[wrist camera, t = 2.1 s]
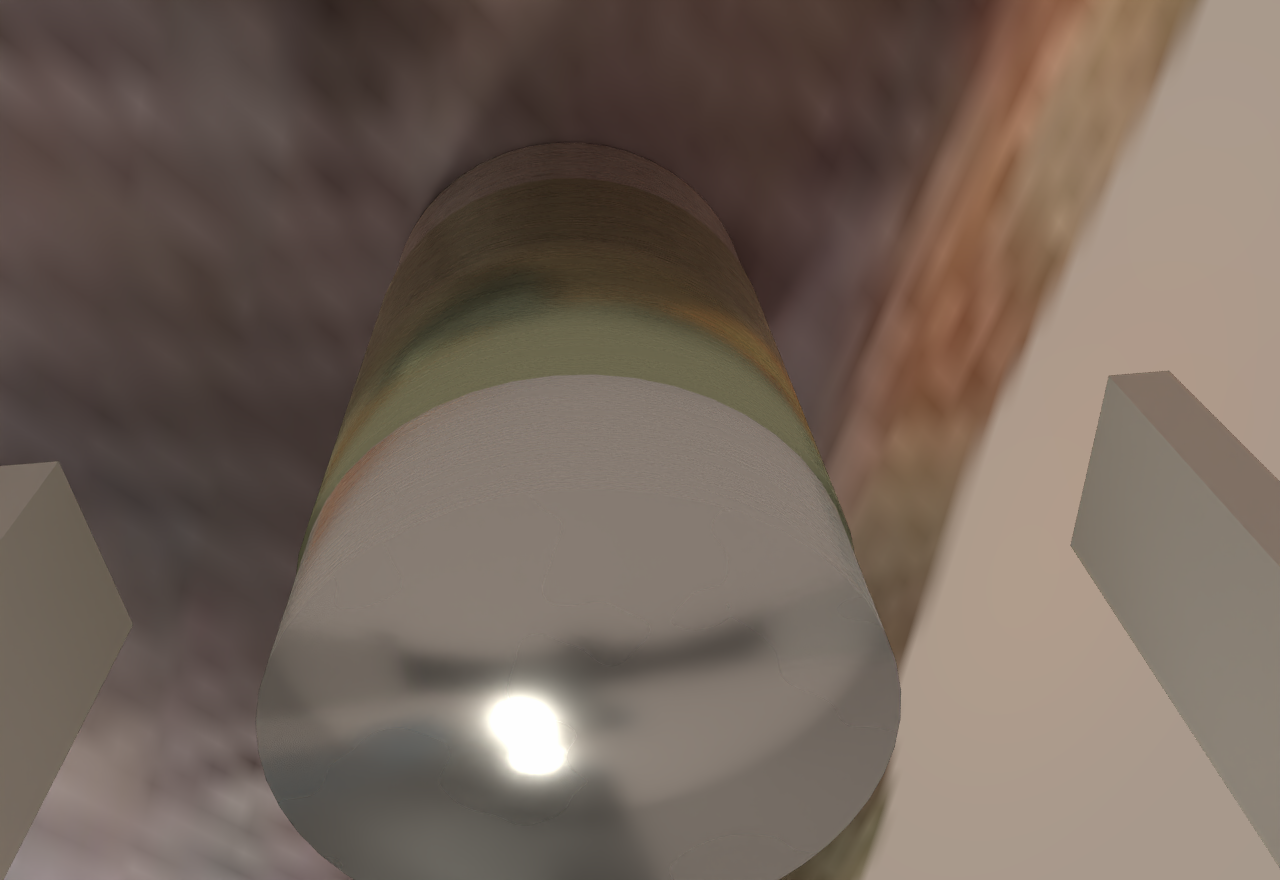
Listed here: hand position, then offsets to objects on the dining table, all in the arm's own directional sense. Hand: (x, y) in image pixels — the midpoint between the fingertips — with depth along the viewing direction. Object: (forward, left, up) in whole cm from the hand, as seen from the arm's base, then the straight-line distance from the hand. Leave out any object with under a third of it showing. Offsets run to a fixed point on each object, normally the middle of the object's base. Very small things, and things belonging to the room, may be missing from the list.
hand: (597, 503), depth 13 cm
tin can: (0, 0, -6) cm, 6 cm away
